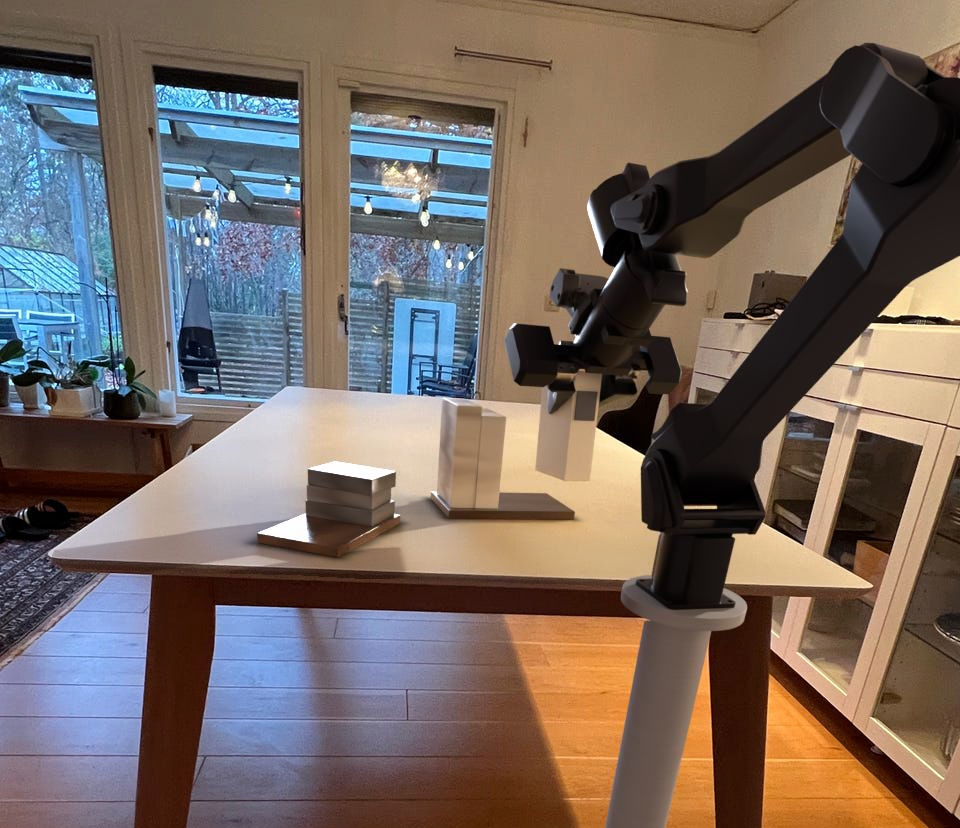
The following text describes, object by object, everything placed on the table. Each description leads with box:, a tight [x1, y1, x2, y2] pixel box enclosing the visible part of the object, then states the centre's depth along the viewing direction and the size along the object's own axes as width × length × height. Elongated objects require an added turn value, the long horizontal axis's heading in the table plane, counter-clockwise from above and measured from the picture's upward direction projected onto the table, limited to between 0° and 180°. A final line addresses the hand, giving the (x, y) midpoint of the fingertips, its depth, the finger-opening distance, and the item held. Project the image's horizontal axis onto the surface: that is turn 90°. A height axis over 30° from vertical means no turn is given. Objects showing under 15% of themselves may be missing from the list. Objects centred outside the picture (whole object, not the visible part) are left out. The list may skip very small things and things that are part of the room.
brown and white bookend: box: [430, 397, 576, 520], centre depth 91 cm, size 10×16×13 cm, turn 106°
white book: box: [534, 371, 602, 482], centre depth 81 cm, size 8×3×12 cm, turn 20°
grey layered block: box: [256, 461, 401, 558], centre depth 76 cm, size 9×15×6 cm, turn 162°
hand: (563, 411), depth 82 cm, fingers closed on white book, 3 cm apart
